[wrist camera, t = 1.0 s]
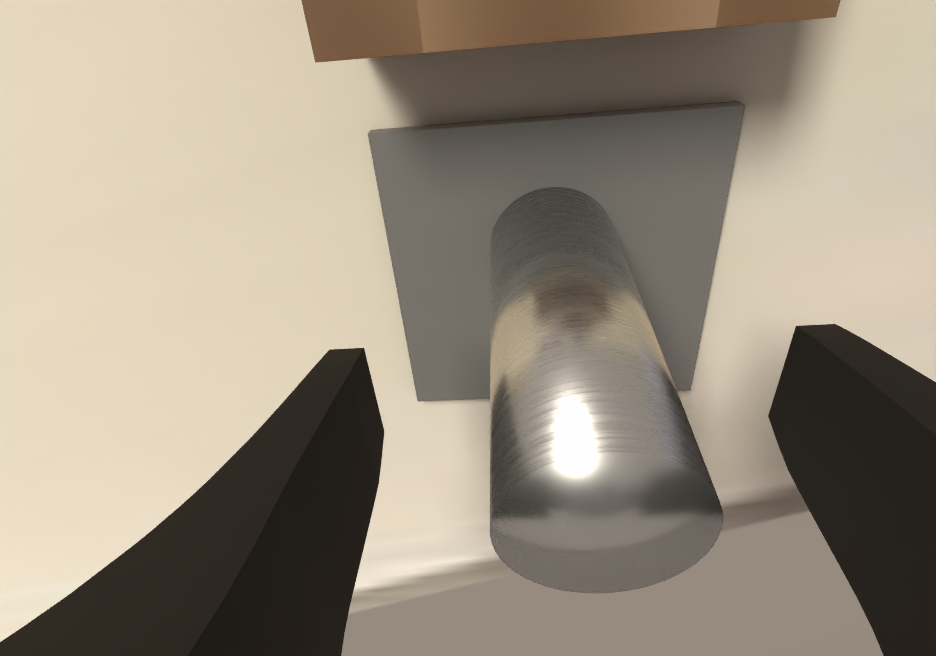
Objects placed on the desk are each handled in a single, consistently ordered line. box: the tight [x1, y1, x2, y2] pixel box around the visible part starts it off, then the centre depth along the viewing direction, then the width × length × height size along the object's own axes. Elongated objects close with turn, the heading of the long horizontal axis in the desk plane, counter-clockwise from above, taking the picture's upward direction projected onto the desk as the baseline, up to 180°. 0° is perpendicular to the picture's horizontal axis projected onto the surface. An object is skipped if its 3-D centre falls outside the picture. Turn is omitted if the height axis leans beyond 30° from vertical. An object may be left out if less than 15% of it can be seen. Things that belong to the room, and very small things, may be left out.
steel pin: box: [490, 187, 723, 593], centre depth 11 cm, size 3×3×8 cm
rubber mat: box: [368, 102, 745, 401], centre depth 15 cm, size 8×8×1 cm
